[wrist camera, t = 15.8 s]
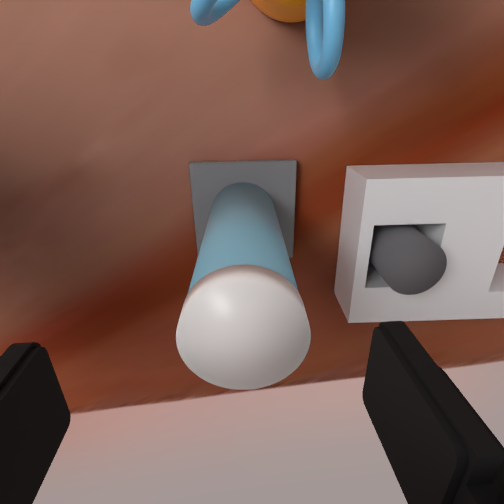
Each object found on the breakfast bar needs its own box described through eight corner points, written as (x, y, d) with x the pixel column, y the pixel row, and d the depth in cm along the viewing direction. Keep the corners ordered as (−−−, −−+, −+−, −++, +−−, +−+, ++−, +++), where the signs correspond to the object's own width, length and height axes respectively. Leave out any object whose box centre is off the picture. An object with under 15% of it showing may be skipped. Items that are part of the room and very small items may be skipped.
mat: (199, 256, 25) (198, 260, 25) (190, 162, 22) (188, 163, 22) (291, 254, 25) (293, 257, 25) (295, 159, 22) (296, 161, 22)
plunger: (354, 256, 25) (381, 295, 20) (359, 211, 24) (390, 241, 19) (401, 255, 25) (439, 294, 20) (409, 210, 24) (453, 239, 19)
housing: (334, 292, 27) (348, 323, 23) (346, 165, 22) (366, 179, 19) (530, 286, 27) (575, 315, 23) (579, 160, 23) (643, 172, 19)
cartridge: (206, 183, 22) (165, 287, 10) (274, 179, 22) (311, 277, 10) (214, 245, 24) (186, 393, 12) (276, 241, 24) (310, 385, 12)
